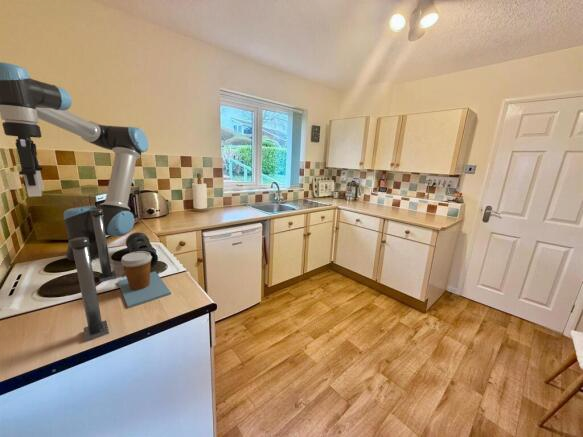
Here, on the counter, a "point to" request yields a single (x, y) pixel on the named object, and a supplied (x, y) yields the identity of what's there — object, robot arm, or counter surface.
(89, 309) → the post
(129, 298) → the mat
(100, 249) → the post
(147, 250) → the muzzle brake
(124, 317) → the counter surface
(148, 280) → the disposable coffee cup
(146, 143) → the robot arm
